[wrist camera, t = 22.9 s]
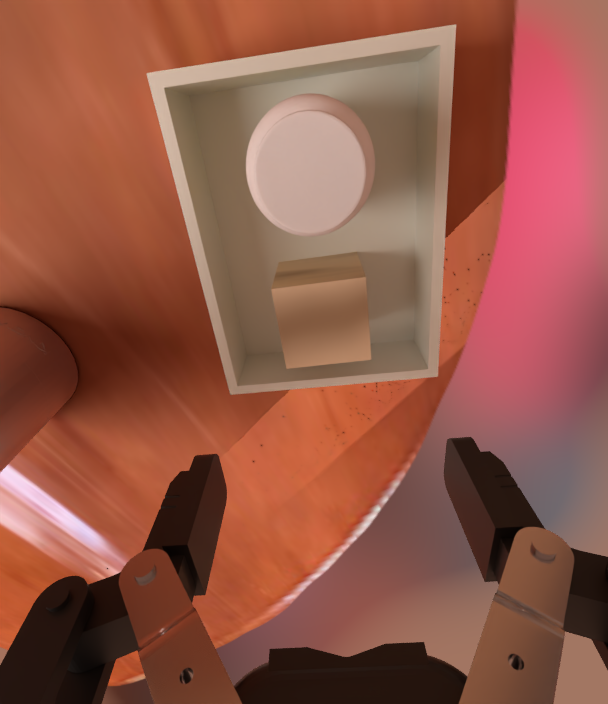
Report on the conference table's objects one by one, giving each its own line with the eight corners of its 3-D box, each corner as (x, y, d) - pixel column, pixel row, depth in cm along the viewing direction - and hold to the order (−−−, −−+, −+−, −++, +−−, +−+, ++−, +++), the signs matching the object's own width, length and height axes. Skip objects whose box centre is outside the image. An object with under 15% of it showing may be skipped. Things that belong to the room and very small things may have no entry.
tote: (419, 339, 29) (437, 376, 24) (242, 356, 30) (230, 394, 25) (425, 47, 20) (456, 24, 16) (180, 85, 21) (146, 73, 17)
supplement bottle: (376, 176, 22) (414, 203, 14) (297, 229, 24) (288, 281, 15) (327, 81, 20) (336, 42, 12) (244, 145, 22) (199, 152, 13)
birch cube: (362, 323, 27) (371, 359, 23) (290, 331, 27) (286, 368, 23) (356, 251, 25) (365, 276, 20) (278, 262, 25) (271, 289, 21)
